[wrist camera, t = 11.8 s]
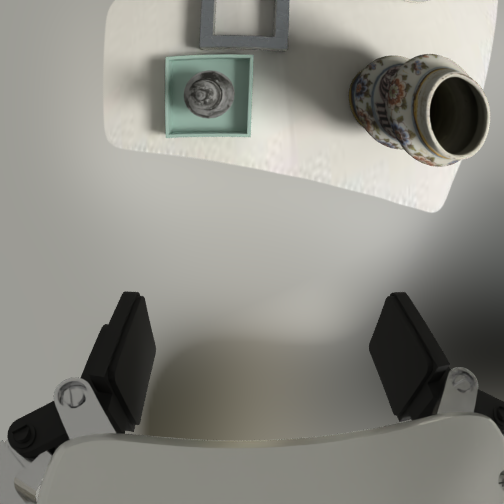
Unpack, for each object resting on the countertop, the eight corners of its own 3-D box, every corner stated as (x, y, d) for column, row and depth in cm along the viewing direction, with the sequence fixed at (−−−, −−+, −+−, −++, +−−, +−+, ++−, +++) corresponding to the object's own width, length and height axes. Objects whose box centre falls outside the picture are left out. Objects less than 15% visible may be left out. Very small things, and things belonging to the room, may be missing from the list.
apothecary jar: (403, 151, 40) (480, 194, 24) (330, 125, 38) (390, 153, 22) (424, 79, 34) (511, 90, 18) (352, 45, 32) (424, 26, 16)
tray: (252, 57, 33) (253, 54, 30) (249, 133, 38) (250, 137, 36) (171, 59, 33) (165, 57, 30) (170, 134, 38) (165, 137, 35)
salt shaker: (203, 124, 37) (188, 138, 26) (180, 87, 34) (155, 87, 24) (243, 101, 35) (245, 106, 25) (220, 63, 33) (212, 52, 22)
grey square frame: (287, -16, 28) (289, -22, 25) (284, 51, 33) (287, 49, 31) (205, -19, 27) (203, -25, 25) (202, 49, 32) (199, 47, 30)
